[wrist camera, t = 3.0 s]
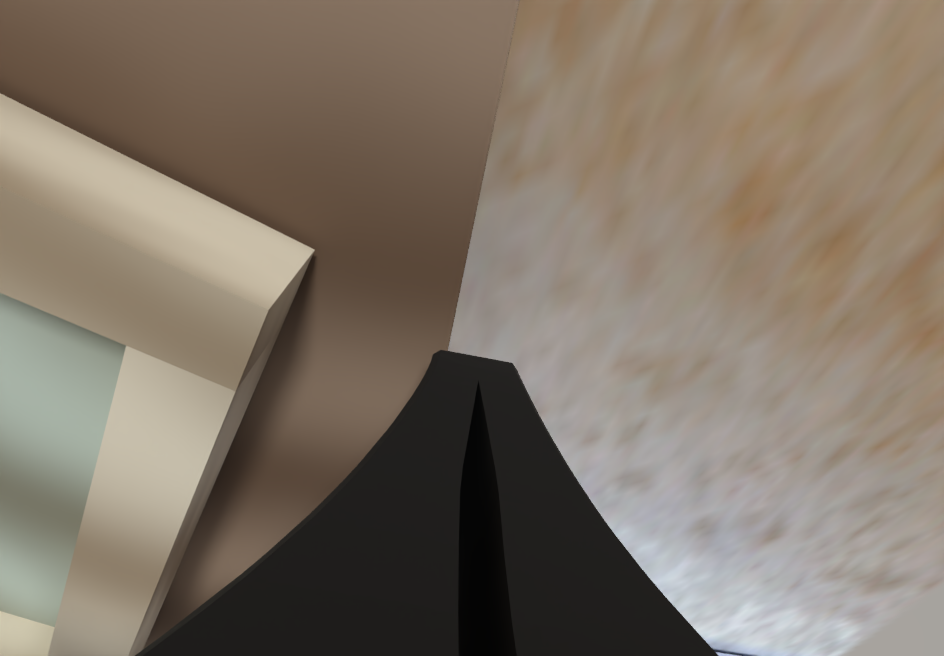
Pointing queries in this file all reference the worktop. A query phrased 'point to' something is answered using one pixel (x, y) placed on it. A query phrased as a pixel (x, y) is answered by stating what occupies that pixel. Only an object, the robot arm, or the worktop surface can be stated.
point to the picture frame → (116, 378)
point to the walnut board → (294, 202)
